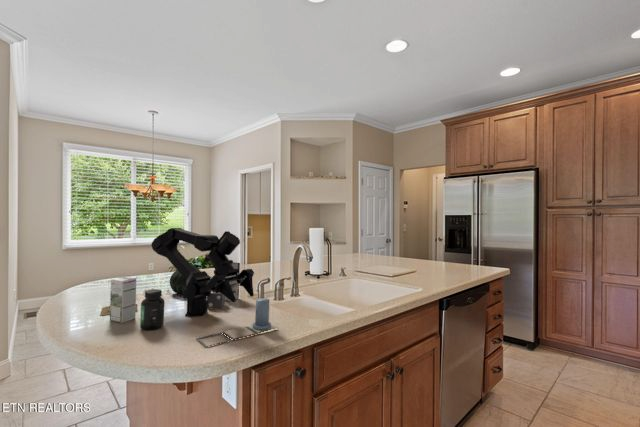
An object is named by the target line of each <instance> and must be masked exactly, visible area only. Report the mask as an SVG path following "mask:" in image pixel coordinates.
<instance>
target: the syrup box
mask: <svg viewBox="0 0 640 427" xmlns="http://www.w3.org/2000/svg"><path fill="white" fill-rule="evenodd" d="M109 300H110V302H109V304H110V305H109V306H110V315H109V321H110V322H115V323H121V324H122V323H126V322H129V321H133V320H135V319H136V313H137V312H136V303H137V277H130V276H120V277H115V278H111V279H110V298H109Z"/></svg>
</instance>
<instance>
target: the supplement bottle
mask: <svg viewBox="0 0 640 427" xmlns="http://www.w3.org/2000/svg"><path fill="white" fill-rule="evenodd" d="M162 294H163V293H162V290H161V289H148V290H145V292H144V299H143V300H142V301H141V302H140V322H139V323H140V324H139V328H140V330H141V331H143V332H144V331H145V332H150V331H157V330H160V329H162V328H163V327H164V324H165V299H164V298H162Z"/></svg>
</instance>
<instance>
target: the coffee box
mask: <svg viewBox="0 0 640 427" xmlns="http://www.w3.org/2000/svg"><path fill="white" fill-rule="evenodd" d="M232 265H233V267H234V268H235V269H238V270H239V272H238V273H237V275H238V274H240V273H241V271H240V269H241V263H240V262H234V261H233V263H232ZM229 283H230V286H231V288H232V291H233V293H234V296H235V299H236V300H238V299H237V298H240V286H239V285H240V284H239V283H237V281H232V282H229ZM226 300H227V301H226ZM225 301H226V302H231V301H230V299H228V298H227V297H226V296H225Z"/></svg>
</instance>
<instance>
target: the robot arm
mask: <svg viewBox="0 0 640 427" xmlns="http://www.w3.org/2000/svg"><path fill="white" fill-rule="evenodd" d="M180 242H184V243H186V244H190V245H193V246H194V249H196V250H198V251H200V252H209V253H206V254H205V255H204V256H205V257H204V259H203V261H204V263H207V262H210V263H211V265H212V267H213V269H214V270H213V276H210V275H209V274H208V272H206V271H205V270H200V271H201V272H197V271H196V270H195V269H194V267H193V266H194V265H193V264H191V263H190V262H189V261H188V259H186V257H185V256H184V255H182V253H181V252H180V250H178V244H179V243H180ZM240 244H241V241H240V239H239V237H237V235H235V234H233V233H231V232H230V231H224V232H223V233H222V235H221V237H220V238H219V237H218V236H217V235H214V234H208V235H207V234H199V233H196V232H192V231H189V230H187V229H183V228H181V227H170V228H168V230H166V231H165V232H164V233H161V234H159V235H158V236H156V237H155V238H154V239H153V240H152V242H151V248H152V251H153V252H154V253H156V254H157V255H159V256H162V257H164V258H165V259H167V260H168V261H169V262H170V263H171V264H172V266H173V267H174V268H175V269H176V270H178V271H179V272H180V274H181V275H182V276H183V277H184V278H185V279H186V287H187V289H186V290H185V291H184V292H183V293H182V297H183V299H184V300H186V301H187V302H186V313H185V317H202V316H204V315H206V314H207V312H208V300H207V296H210V294H211V291H212V292H215V293H218V292H220V293H222V294H223V295H224V296H226V297H227V298H228V299H230V300H231V301H230V302H232V303H235V302H236V301H237V299H235V296H234V293H233V291H232V288H231V286H230V283H229V282H232V281H237V283H239V287H243V289H245V291H246V292H247V294H248V295H249V296H250V297H253V296H254V294H255V293H254V287H253V277H254V275H255V272H254V270H253V269H252V268H244V269H242V270H241V271H240V274H238V275H237V273H238V272H239V270H238V269H235V268H234V267H233V265H232V263H233V262H234V260H232V259H229V258H228V256H230V255H231V254H232V253H233V252H234V251H235V250H236V248H238V246H239V245H240ZM192 265H193V266H192Z"/></svg>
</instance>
